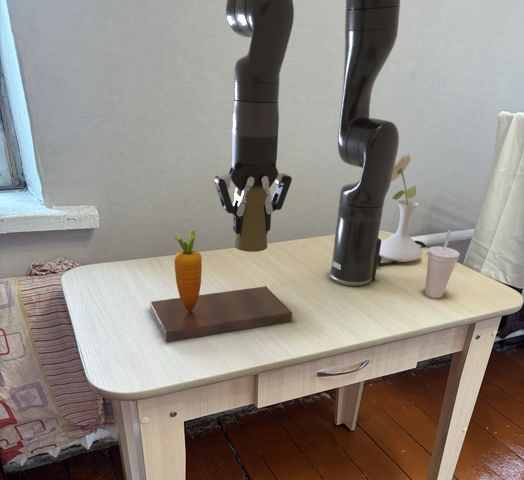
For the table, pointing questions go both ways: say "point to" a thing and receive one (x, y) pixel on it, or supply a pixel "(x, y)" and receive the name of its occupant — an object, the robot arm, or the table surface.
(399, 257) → the flower in vase
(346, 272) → the robot arm
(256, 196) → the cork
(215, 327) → the cutting board
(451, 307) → the table surface
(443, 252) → the smoothie
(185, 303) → the carrot
